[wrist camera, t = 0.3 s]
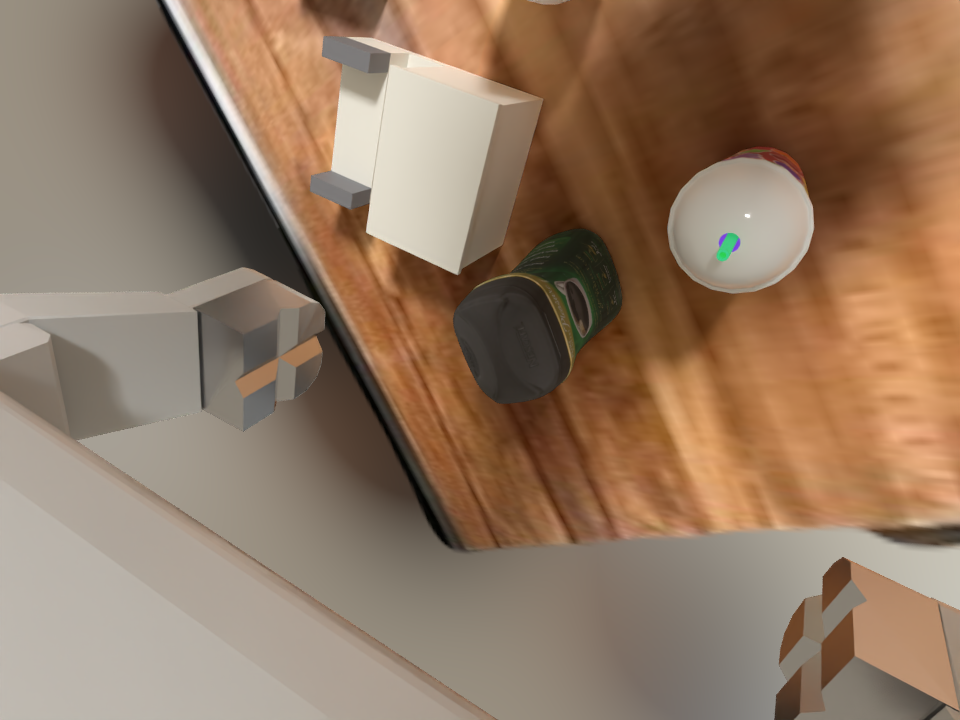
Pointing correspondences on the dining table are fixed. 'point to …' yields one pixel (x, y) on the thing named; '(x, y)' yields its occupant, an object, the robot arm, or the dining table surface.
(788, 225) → the smoothie
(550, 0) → the sauce bottle
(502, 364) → the coffee jar
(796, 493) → the dining table surface
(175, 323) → the robot arm
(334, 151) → the cream armchair block
